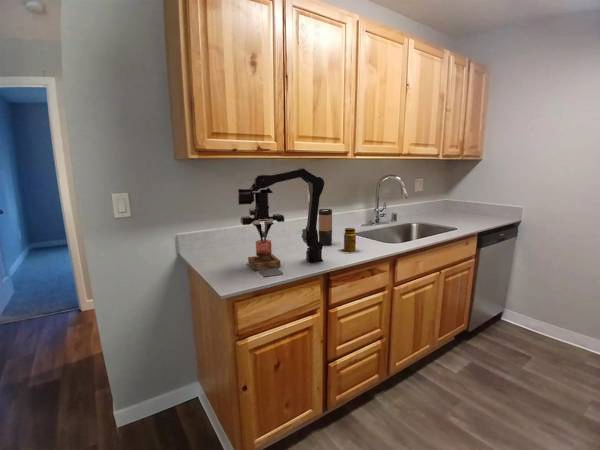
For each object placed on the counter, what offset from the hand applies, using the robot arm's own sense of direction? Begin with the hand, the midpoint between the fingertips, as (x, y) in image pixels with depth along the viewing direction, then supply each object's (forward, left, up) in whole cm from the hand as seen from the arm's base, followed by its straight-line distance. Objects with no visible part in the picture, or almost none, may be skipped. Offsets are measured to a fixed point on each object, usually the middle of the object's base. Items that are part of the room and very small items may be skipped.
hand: (263, 238), depth 140 cm
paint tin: (0, 0, -8) cm, 8 cm away
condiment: (-47, -6, -13) cm, 49 cm away
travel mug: (-42, -23, -13) cm, 49 cm away
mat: (0, +10, -13) cm, 17 cm away
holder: (0, -1, -13) cm, 13 cm away
